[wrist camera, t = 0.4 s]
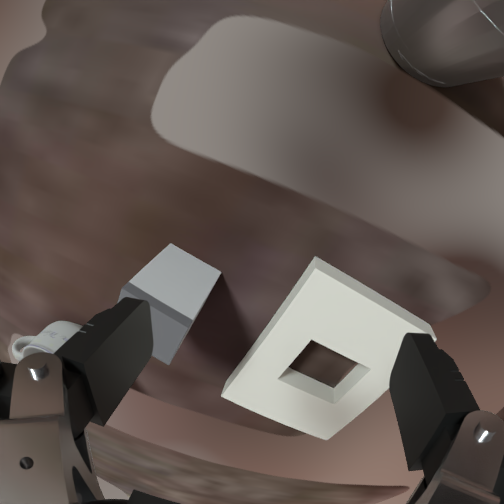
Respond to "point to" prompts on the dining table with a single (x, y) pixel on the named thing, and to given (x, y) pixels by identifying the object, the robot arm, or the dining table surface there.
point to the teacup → (45, 339)
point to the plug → (172, 296)
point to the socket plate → (331, 336)
